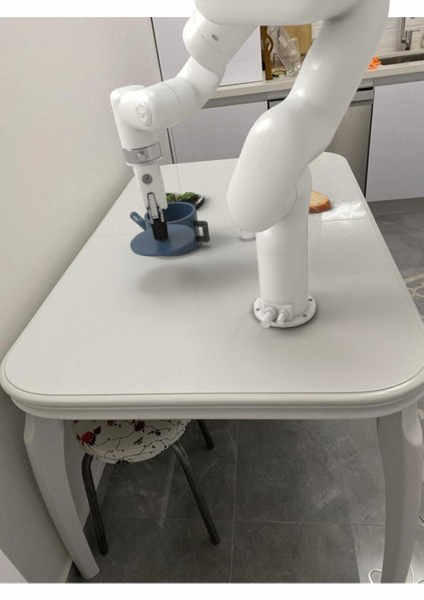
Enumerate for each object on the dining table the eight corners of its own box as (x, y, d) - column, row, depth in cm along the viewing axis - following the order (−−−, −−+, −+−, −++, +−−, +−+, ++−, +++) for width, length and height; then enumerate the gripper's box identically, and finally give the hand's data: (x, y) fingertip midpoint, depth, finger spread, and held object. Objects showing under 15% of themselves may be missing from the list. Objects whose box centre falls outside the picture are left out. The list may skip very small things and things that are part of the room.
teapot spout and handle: (208, 244, 114) (204, 217, 110) (133, 238, 123) (127, 213, 119) (211, 240, 116) (208, 213, 111) (137, 234, 124) (131, 210, 120)
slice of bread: (333, 210, 125) (334, 198, 123) (270, 217, 127) (270, 205, 125) (321, 188, 140) (321, 177, 138) (265, 194, 142) (264, 183, 140)
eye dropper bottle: (260, 240, 116) (257, 198, 109) (239, 241, 118) (235, 198, 111) (262, 233, 120) (259, 191, 113) (242, 233, 121) (238, 192, 114)
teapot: (188, 260, 112) (182, 225, 107) (142, 256, 118) (134, 222, 112) (208, 236, 122) (203, 202, 117) (165, 233, 128) (159, 201, 122)
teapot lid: (177, 261, 92) (171, 230, 88) (119, 256, 98) (110, 227, 94) (205, 229, 103) (200, 201, 99) (151, 227, 108) (144, 200, 104)
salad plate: (132, 216, 141) (129, 202, 139) (161, 194, 154) (158, 182, 151) (184, 221, 133) (181, 206, 130) (210, 198, 146) (208, 184, 143)
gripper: (162, 161, 82) (180, 247, 92) (159, 140, 96) (175, 218, 106) (122, 168, 82) (145, 254, 92) (125, 146, 95) (145, 223, 106)
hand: (161, 234), depth 99 cm, fingers closed on teapot lid, 3 cm apart
